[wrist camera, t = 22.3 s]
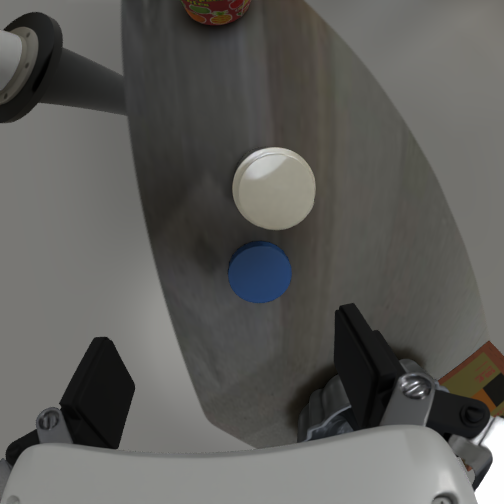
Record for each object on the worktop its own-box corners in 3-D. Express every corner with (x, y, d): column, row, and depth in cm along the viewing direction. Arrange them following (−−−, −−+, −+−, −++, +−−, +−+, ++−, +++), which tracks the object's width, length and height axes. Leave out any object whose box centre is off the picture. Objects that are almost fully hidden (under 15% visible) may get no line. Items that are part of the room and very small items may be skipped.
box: (488, 340, 42) (541, 400, 23) (488, 363, 45) (532, 418, 26) (427, 387, 45) (470, 461, 26) (431, 405, 48) (467, 471, 29)
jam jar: (225, 195, 30) (219, 217, 22) (247, 137, 28) (251, 134, 19) (282, 216, 32) (299, 246, 23) (306, 160, 29) (334, 168, 21)
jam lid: (262, 306, 35) (263, 313, 34) (216, 273, 34) (215, 280, 32) (302, 265, 34) (304, 271, 32) (255, 227, 32) (256, 232, 30)
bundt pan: (253, 401, 42) (256, 452, 33) (397, 308, 37) (432, 350, 27) (330, 449, 50) (340, 486, 41) (437, 384, 45) (459, 418, 35)
